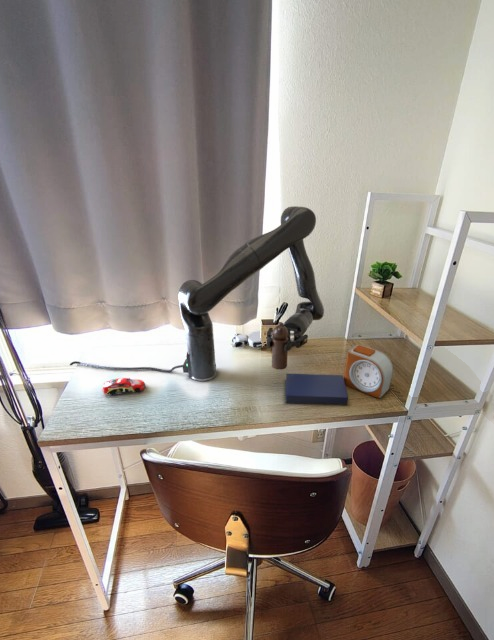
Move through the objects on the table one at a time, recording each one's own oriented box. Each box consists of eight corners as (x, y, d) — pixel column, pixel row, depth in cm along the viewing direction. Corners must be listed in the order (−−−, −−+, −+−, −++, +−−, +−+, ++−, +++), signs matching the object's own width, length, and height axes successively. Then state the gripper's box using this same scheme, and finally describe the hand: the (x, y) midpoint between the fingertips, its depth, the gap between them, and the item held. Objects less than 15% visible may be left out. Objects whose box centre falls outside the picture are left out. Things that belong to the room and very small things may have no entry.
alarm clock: (340, 383, 132) (345, 349, 124) (352, 374, 138) (357, 341, 130) (378, 399, 125) (386, 364, 117) (389, 388, 131) (397, 354, 123)
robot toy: (231, 353, 150) (268, 352, 150) (229, 343, 148) (267, 341, 147) (234, 340, 160) (268, 338, 160) (233, 330, 158) (268, 329, 157)
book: (286, 403, 121) (286, 395, 120) (286, 380, 133) (286, 373, 131) (347, 405, 121) (348, 397, 120) (341, 382, 133) (342, 375, 131)
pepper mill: (270, 369, 119) (271, 327, 111) (270, 361, 124) (271, 320, 115) (287, 369, 120) (289, 328, 111) (286, 362, 124) (288, 321, 115)
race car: (146, 384, 128) (144, 374, 126) (145, 392, 123) (143, 382, 121) (105, 387, 125) (102, 377, 123) (103, 396, 121) (100, 386, 118)
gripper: (276, 313, 128) (256, 331, 115) (316, 320, 124) (299, 340, 111) (275, 333, 132) (256, 353, 119) (314, 340, 128) (298, 362, 115)
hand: (277, 347), depth 115 cm, fingers closed on pepper mill, 5 cm apart
